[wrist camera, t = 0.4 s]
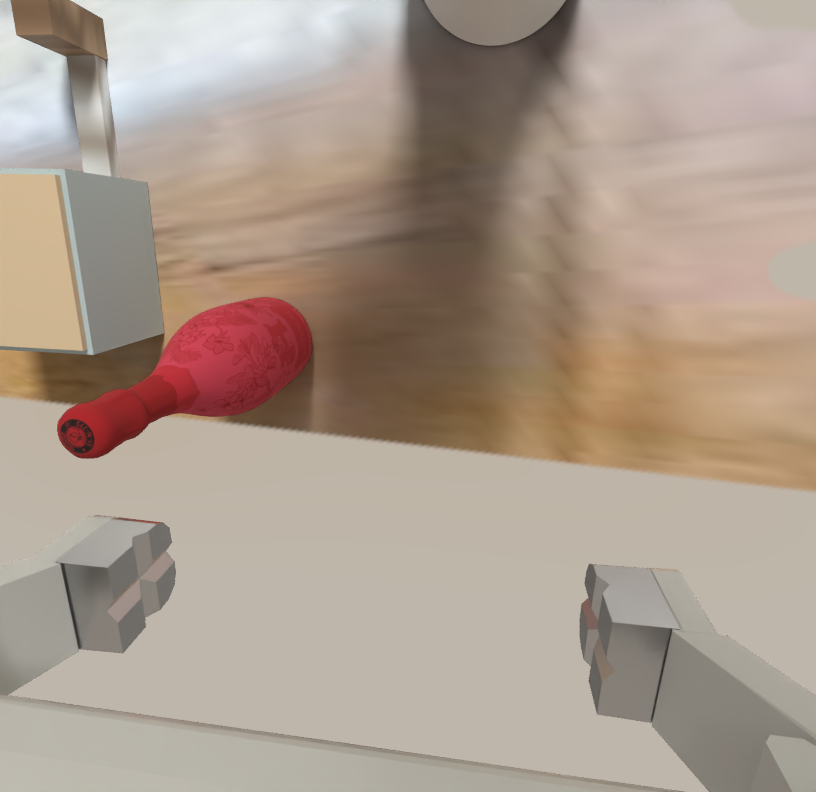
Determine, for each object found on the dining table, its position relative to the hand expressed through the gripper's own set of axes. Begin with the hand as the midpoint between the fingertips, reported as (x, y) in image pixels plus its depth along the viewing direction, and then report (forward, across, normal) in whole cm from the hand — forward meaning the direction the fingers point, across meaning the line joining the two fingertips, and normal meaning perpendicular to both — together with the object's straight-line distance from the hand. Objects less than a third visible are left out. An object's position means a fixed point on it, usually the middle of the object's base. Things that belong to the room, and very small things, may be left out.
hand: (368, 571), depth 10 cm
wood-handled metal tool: (+47, +38, -16) cm, 62 cm away
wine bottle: (+47, +20, +6) cm, 51 cm away
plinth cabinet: (+46, +40, -2) cm, 62 cm away
